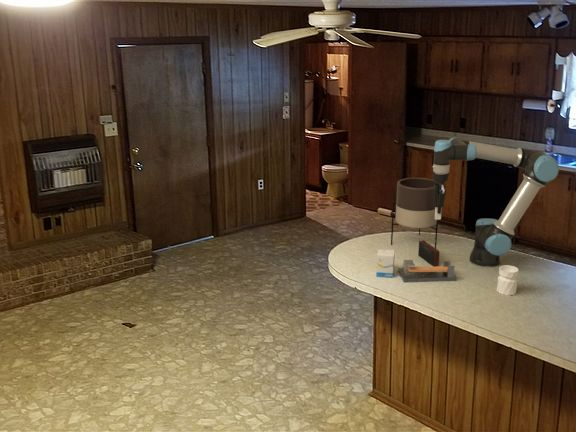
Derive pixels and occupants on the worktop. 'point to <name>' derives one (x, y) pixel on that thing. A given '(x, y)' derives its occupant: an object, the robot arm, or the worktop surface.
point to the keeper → (405, 267)
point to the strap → (427, 269)
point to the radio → (428, 253)
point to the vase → (507, 279)
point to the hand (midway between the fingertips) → (437, 219)
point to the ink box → (385, 263)
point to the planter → (415, 204)
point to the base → (430, 275)
